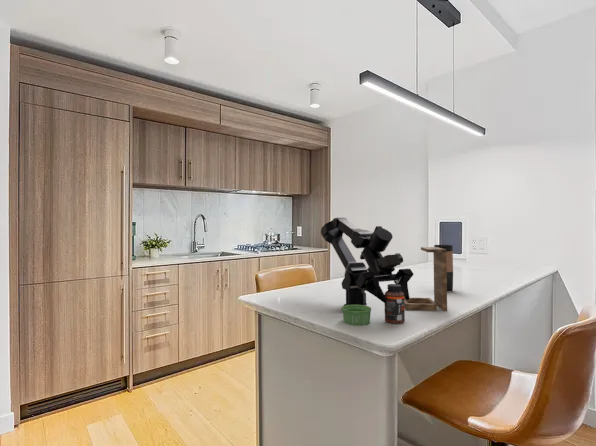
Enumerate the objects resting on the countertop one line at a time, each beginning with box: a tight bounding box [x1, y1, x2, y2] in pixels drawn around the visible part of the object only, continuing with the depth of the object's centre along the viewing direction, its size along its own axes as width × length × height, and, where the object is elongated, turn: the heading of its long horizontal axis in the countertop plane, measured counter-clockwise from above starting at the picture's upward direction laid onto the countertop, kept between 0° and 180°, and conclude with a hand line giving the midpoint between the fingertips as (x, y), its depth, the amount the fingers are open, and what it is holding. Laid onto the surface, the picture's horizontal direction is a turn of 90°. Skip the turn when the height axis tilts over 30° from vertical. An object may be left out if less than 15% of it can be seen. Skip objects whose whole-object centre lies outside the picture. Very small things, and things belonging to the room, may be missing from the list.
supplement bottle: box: [384, 283, 406, 325], centre depth 107 cm, size 6×6×11 cm
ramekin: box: [341, 305, 372, 326], centre depth 108 cm, size 9×9×4 cm
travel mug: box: [433, 244, 454, 293], centre depth 154 cm, size 8×8×20 cm
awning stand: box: [404, 246, 448, 312], centre depth 126 cm, size 14×11×21 cm
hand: (397, 300), depth 106 cm, fingers open, 8 cm apart
